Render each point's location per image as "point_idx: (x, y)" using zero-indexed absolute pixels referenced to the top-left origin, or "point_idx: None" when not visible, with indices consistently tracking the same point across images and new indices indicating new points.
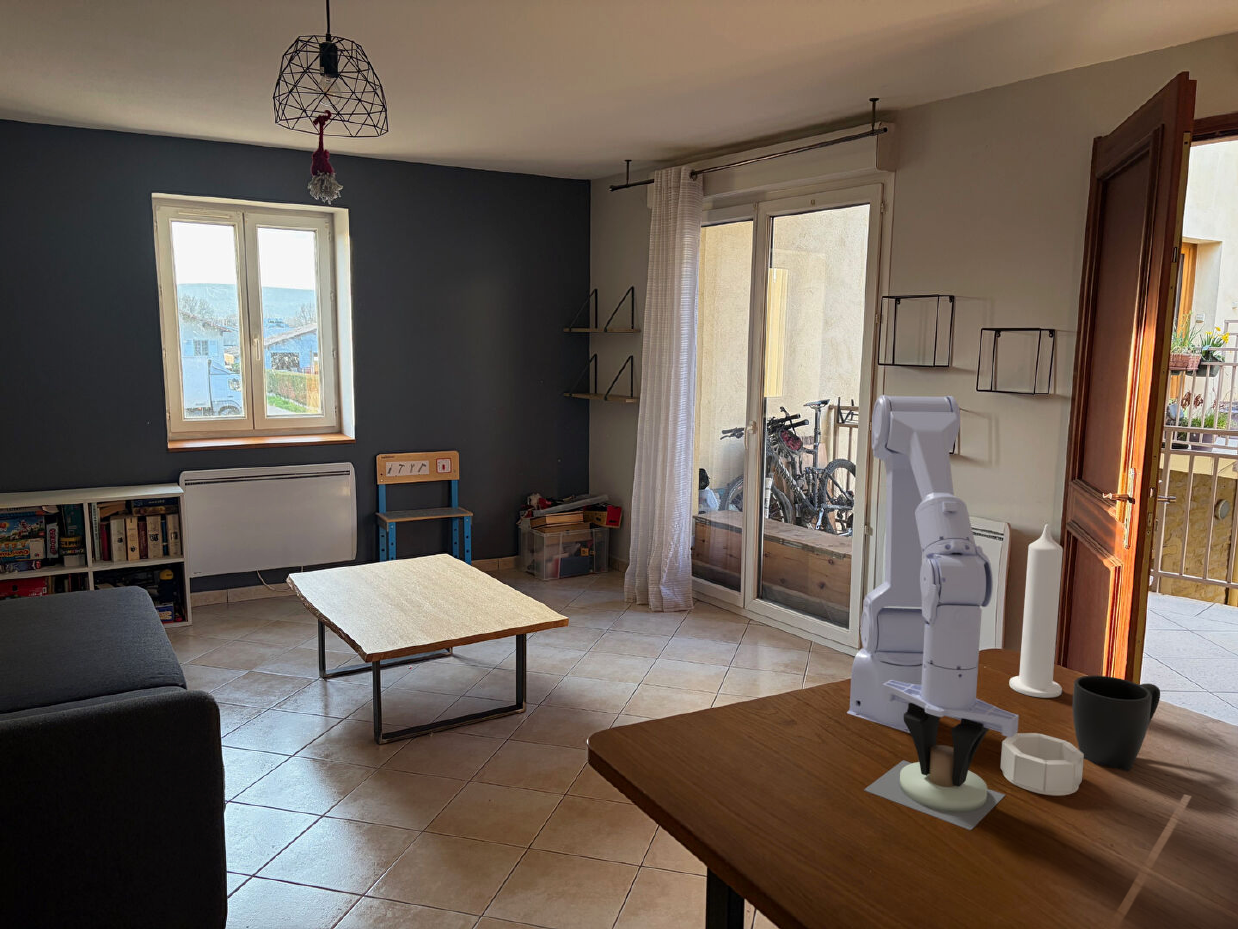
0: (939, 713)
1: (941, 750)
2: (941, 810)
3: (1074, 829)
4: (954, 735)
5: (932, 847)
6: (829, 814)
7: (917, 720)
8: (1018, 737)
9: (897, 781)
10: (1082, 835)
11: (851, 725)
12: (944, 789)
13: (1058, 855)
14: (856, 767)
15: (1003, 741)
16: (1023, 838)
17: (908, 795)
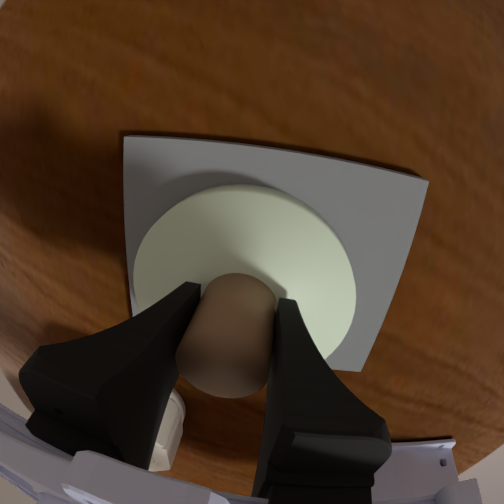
0: (80, 474)
1: (231, 368)
2: (211, 186)
3: (37, 281)
4: (98, 374)
5: (186, 22)
6: (458, 38)
7: (309, 439)
8: (155, 462)
9: (358, 276)
10: (25, 269)
11: (450, 423)
12: (218, 260)
13: (17, 182)
14: (452, 304)
15: (165, 450)
16: (62, 201)
17: (311, 208)
